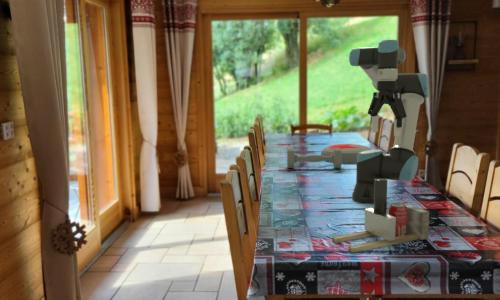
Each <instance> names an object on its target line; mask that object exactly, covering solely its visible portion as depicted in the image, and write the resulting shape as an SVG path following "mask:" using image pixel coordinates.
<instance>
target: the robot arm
mask: <svg viewBox="0 0 500 300" xmlns="http://www.w3.org/2000/svg"><path fill="white" fill-rule="evenodd" d="M406 56H407V55H406V50H404V48H402V47H401V46H400V45H399V40H397V39H382V40H380V41H378V46H375V47H356V48H354V47H353V48H351V50H350V51H349V55H348V62H349V64H350V66H352V67H359V68H361V69H362V71H363V72H364V73H365V74H366V76H367V77H368V78H369V79H370V80H371V84H372V86H373V88H374V89H375V90H376V91H373V93H372V99H371V103H370V105H369V108H368V111H367V115H369V116H370V124H371V133H378V132H379V112H380V111H381V109H382V107H383V106H384V105H388V106H389V107H390V110H391V111H392V113H393V116H394V122H393V137H394V140H393V146H392V147H390V148H389V150H388V153H384V150H383V149H373V150H367V151H362V152H359V153H358V154H357V161H356V163H355V164H356V176H355V178H356V179H355V180H356V181H355V186H354V188H353V190H352V193H351V198H352V200H354V201H355V202H358V203H362V204H363V203H365V204H374V180H375V179H386V180H389V181H391V180H392V181H398V182H412V180H413V179H415V176H416V174H417V173H418V167H419V157H418V156H416V152H415V151H414V149H413V148H414V144H415V137H416V131H417V124H418V120H419V114H420V108H421V107H420V106H421V105H422V104H424V103H425V99H428V98H429V96H430V82H429V77H428V75H427V74H426V73H422V72H421V73H420V72H419V73H418V72H416V73H399V72H398V66H399V65H401V64H403V63H404V62H405V60H406Z"/></svg>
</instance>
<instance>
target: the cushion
mask: <svg viewBox="0 0 500 300" xmlns="http://www.w3.org/2000/svg"><path fill="white" fill-rule="evenodd" d="M334 148H340V149H341V154H342V162H343V163H342V164H357V163H356V161H357V154H358V153H359V152H362V151H367V150H374V149H373V148H371V147H369V146H366V145H361V144H357V143H353V144H352V143H339V144H331V145H328V146H326V147H323V149H322V150H321V152H320V155H321V156H330V155H331V154H333V150H334Z"/></svg>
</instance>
